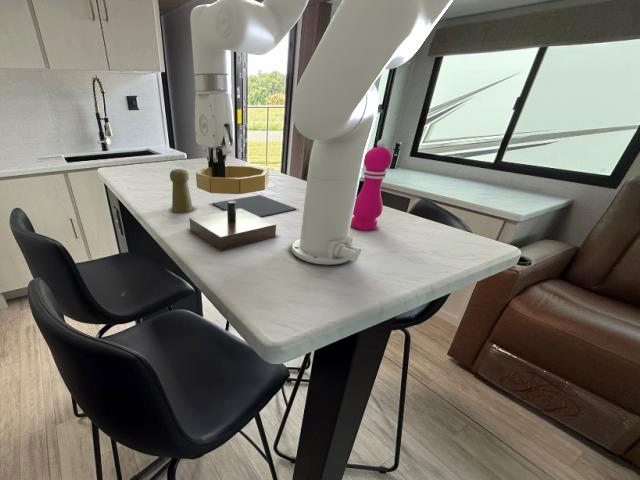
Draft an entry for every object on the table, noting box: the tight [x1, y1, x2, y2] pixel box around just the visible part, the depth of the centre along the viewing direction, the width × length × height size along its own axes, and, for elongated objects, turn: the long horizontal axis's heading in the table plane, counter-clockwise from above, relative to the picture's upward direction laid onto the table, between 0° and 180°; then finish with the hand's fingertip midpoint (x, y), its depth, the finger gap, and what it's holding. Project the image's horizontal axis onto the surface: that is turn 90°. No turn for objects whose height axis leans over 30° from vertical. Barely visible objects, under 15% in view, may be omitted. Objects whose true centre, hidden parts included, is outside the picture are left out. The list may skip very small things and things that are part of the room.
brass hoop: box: [195, 164, 270, 195], centre depth 70 cm, size 15×15×3 cm
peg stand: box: [189, 200, 277, 251], centre depth 75 cm, size 15×15×8 cm
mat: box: [212, 194, 297, 218], centre depth 96 cm, size 18×18×1 cm
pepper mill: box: [350, 139, 393, 231], centre depth 76 cm, size 7×7×20 cm
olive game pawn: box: [169, 168, 194, 214], centre depth 90 cm, size 6×6×11 cm
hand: (217, 178), depth 76 cm, fingers closed on brass hoop, 1 cm apart
